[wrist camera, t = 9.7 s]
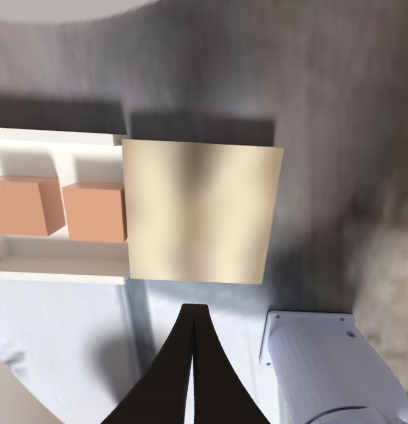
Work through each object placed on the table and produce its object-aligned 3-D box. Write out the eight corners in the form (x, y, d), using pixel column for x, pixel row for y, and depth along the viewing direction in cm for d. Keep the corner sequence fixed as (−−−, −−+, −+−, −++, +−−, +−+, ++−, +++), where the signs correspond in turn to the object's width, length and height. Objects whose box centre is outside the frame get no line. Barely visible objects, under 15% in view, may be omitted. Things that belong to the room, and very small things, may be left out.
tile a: (130, 184, 19) (120, 190, 17) (133, 230, 21) (123, 242, 18) (79, 181, 19) (61, 187, 17) (85, 228, 21) (69, 240, 18)
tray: (127, 135, 18) (112, 134, 15) (134, 265, 22) (124, 284, 19) (-29, 126, 18) (-73, 124, 15) (7, 260, 22) (-23, 278, 19)
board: (273, 146, 19) (283, 147, 16) (255, 268, 22) (261, 284, 20) (131, 139, 18) (121, 138, 16) (138, 263, 22) (130, 278, 20)
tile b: (58, 177, 19) (37, 182, 17) (66, 225, 20) (48, 236, 18) (6, 174, 19) (-22, 179, 17) (17, 223, 20) (-8, 234, 18)
